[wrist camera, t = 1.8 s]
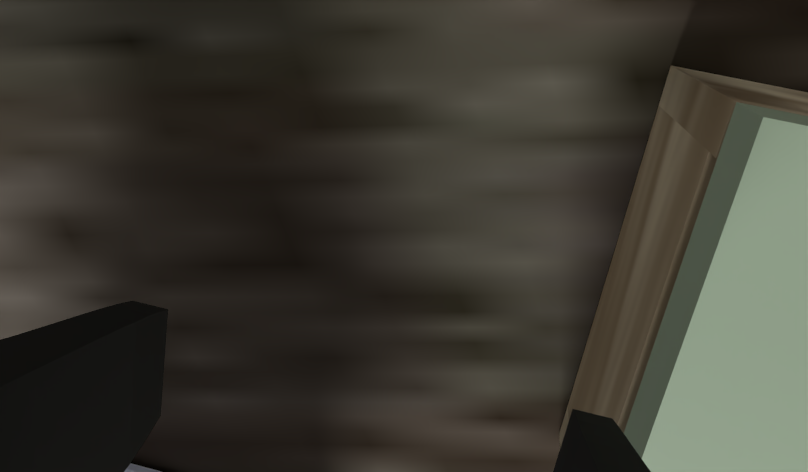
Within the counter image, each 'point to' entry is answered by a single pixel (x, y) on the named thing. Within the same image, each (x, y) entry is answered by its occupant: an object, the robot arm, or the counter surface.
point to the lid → (737, 315)
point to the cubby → (660, 232)
